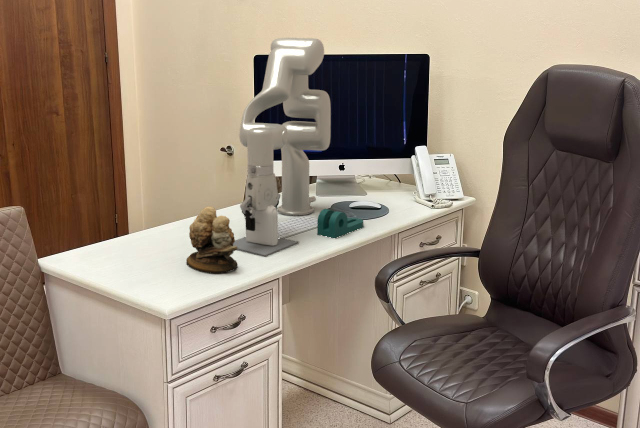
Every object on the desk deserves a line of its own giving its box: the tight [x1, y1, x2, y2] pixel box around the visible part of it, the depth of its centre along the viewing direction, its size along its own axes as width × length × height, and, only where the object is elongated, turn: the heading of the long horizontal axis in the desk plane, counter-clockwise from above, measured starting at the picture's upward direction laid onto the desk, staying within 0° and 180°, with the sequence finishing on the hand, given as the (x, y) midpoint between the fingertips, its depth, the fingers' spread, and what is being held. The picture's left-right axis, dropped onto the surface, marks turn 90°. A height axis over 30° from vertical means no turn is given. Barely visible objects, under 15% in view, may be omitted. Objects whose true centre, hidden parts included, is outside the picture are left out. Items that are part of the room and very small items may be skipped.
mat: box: [233, 236, 300, 258], centre depth 221 cm, size 16×16×1 cm
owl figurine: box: [186, 205, 239, 275], centre depth 201 cm, size 18×12×17 cm, turn 48°
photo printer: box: [244, 205, 279, 246], centre depth 220 cm, size 10×4×12 cm, turn 62°
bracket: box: [316, 208, 364, 239], centre depth 236 cm, size 18×7×8 cm, turn 142°
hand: (261, 226), depth 220 cm, fingers open, 9 cm apart
